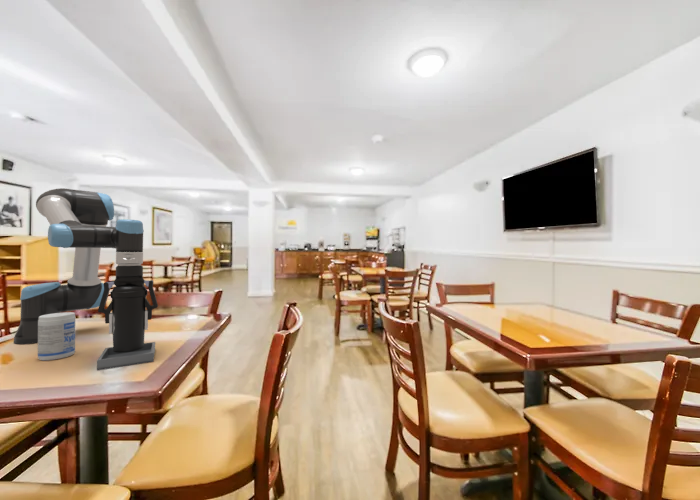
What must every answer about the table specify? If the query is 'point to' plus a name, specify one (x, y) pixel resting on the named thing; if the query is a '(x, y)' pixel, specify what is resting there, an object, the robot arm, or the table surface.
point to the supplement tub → (56, 336)
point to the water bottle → (128, 316)
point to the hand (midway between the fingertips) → (129, 330)
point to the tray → (126, 357)
